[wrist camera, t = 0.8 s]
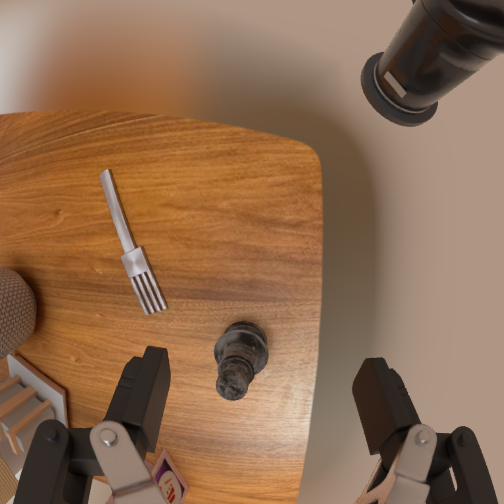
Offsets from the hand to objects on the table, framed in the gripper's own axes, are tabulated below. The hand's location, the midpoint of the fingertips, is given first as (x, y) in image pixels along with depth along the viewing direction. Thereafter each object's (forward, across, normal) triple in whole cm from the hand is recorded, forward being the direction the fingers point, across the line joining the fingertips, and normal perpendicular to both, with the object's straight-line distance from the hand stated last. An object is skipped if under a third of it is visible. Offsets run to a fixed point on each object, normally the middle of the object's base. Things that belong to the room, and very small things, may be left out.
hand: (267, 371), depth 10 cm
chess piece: (+18, 0, +15) cm, 23 cm away
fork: (+23, +15, +6) cm, 28 cm away
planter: (+22, +37, +18) cm, 46 cm away
